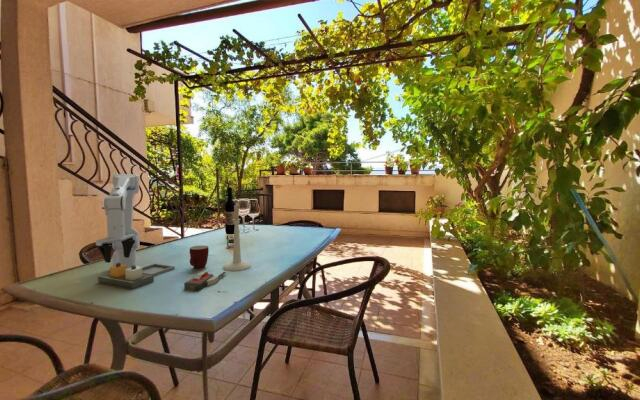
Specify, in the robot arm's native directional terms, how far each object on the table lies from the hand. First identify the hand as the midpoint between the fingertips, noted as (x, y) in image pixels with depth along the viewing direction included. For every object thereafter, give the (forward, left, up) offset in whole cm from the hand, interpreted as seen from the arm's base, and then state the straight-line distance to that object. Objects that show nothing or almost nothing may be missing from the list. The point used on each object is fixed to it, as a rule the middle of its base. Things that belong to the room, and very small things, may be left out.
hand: (117, 259), depth 120 cm
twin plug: (+9, 0, -9) cm, 13 cm away
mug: (+18, +25, -9) cm, 32 cm away
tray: (+3, +14, -9) cm, 17 cm away
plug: (0, 0, -9) cm, 9 cm away
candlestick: (+32, +35, -9) cm, 48 cm away
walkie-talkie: (+33, +13, -10) cm, 36 cm away
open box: (+5, 0, -9) cm, 10 cm away
